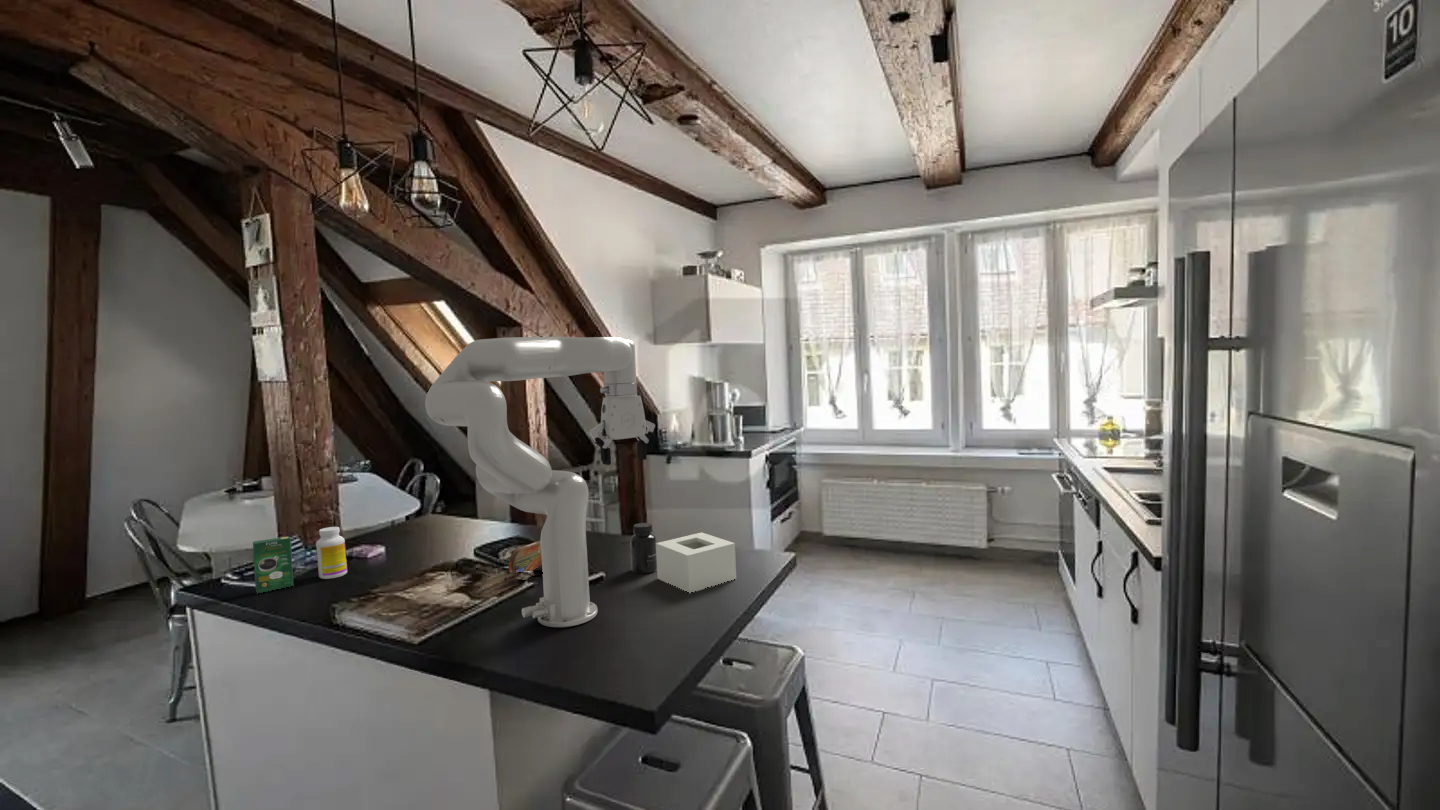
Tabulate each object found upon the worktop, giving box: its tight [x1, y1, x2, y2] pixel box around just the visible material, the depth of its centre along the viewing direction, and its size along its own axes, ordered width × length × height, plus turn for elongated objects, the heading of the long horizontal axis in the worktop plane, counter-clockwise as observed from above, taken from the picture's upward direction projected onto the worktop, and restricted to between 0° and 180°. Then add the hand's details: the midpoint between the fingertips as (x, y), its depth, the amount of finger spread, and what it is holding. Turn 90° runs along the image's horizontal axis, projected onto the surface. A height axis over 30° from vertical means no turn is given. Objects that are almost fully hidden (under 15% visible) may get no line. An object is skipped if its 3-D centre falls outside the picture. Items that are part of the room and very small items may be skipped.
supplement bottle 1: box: [315, 526, 348, 580], centre depth 174 cm, size 7×7×13 cm
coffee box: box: [252, 535, 295, 595], centre depth 164 cm, size 8×3×13 cm, turn 129°
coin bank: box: [656, 531, 737, 594], centre depth 160 cm, size 14×14×9 cm
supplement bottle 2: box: [629, 522, 658, 575], centre depth 168 cm, size 7×7×12 cm
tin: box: [508, 540, 542, 574], centre depth 168 cm, size 15×3×8 cm, turn 148°
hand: (624, 461), depth 156 cm, fingers open, 9 cm apart
